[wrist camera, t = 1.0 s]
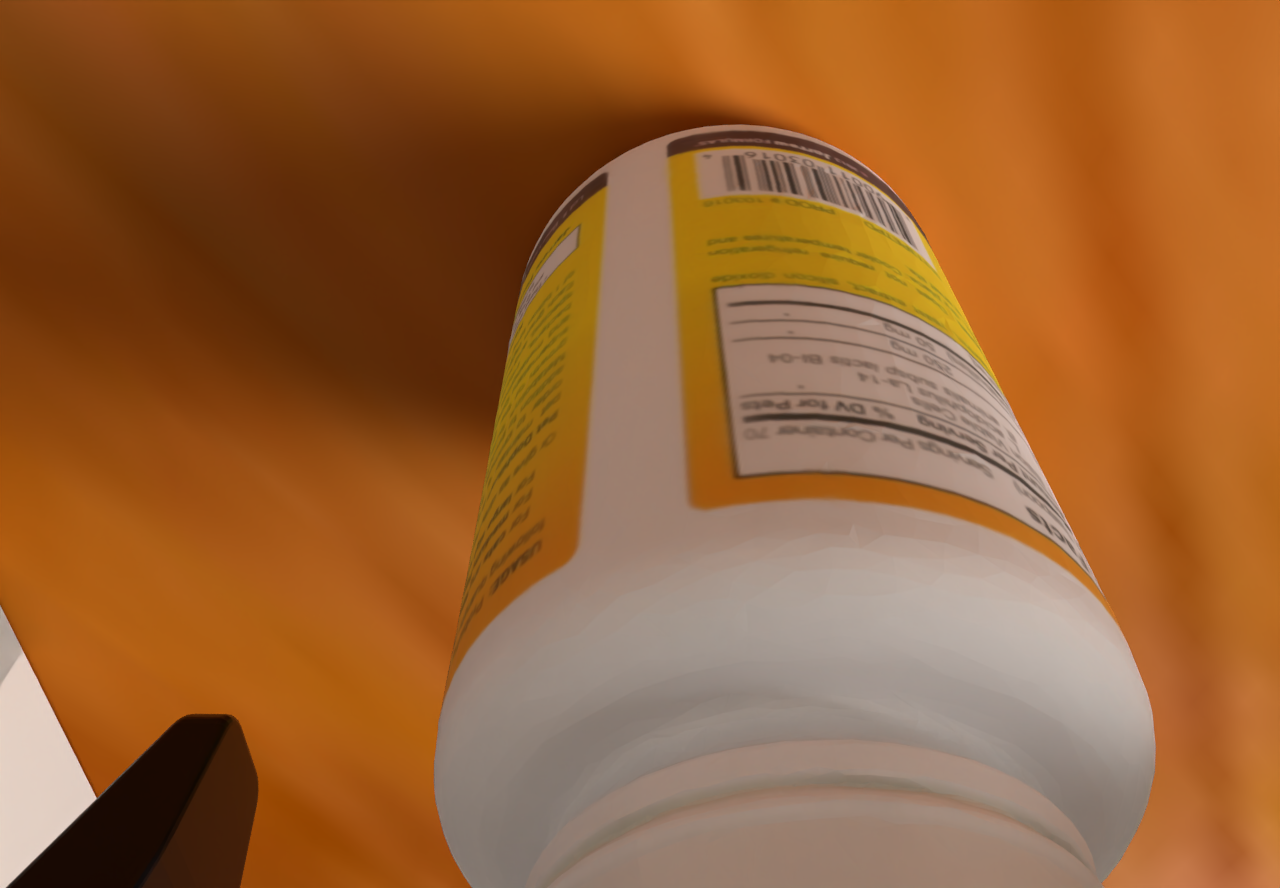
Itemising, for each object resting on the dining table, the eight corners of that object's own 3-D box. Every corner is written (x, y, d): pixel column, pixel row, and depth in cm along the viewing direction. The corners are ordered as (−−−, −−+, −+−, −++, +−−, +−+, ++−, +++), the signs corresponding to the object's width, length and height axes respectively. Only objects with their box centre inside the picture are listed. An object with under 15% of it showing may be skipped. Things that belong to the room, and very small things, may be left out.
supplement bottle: (608, 505, 17) (571, 1333, 8) (452, 191, 14) (155, 1021, 5) (964, 407, 15) (1321, 1256, 7) (884, 38, 12) (1350, 801, 4)
